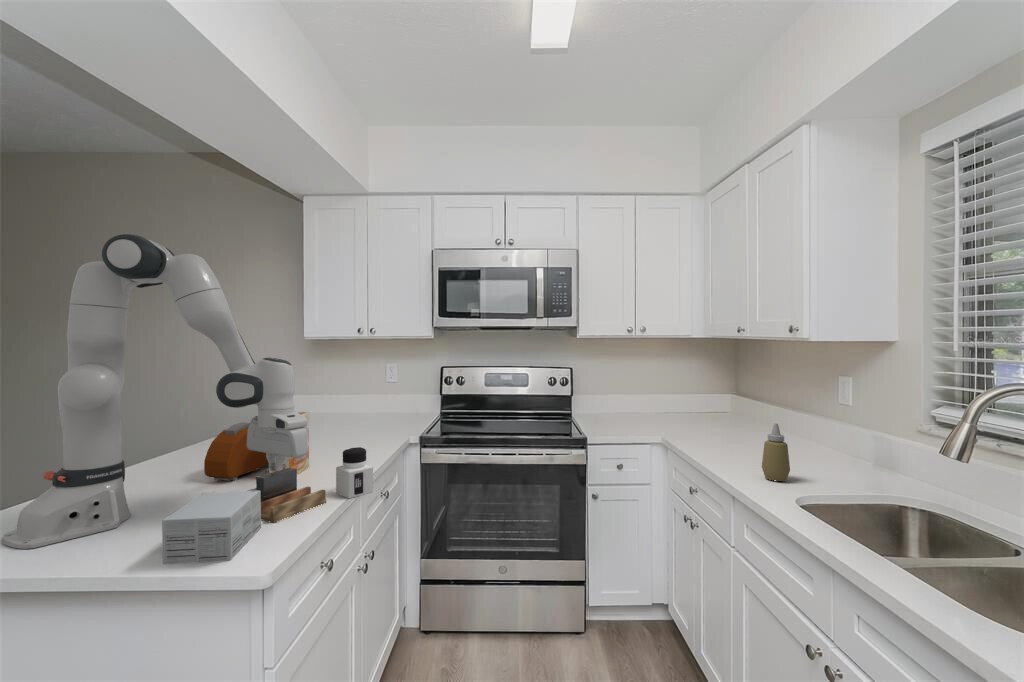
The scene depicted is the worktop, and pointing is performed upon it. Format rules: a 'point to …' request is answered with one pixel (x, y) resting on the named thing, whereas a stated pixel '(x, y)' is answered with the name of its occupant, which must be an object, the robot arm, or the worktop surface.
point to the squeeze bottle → (775, 456)
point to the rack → (290, 503)
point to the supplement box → (211, 527)
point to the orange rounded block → (232, 455)
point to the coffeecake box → (299, 462)
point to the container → (354, 474)
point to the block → (276, 483)
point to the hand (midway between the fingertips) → (275, 470)
